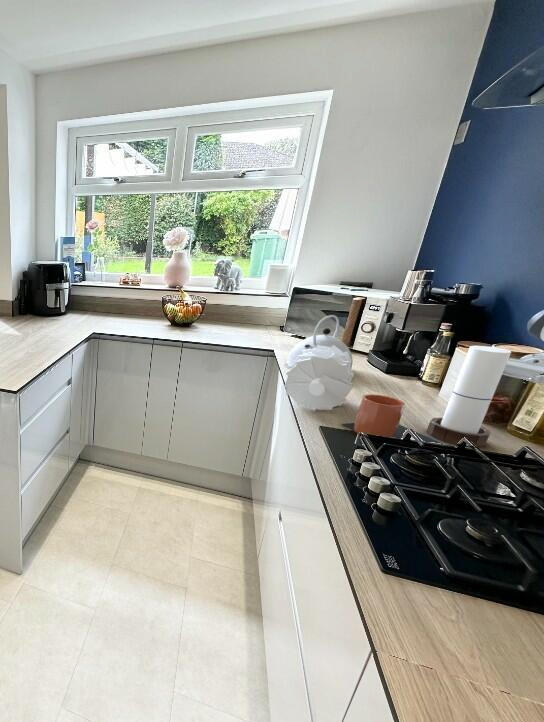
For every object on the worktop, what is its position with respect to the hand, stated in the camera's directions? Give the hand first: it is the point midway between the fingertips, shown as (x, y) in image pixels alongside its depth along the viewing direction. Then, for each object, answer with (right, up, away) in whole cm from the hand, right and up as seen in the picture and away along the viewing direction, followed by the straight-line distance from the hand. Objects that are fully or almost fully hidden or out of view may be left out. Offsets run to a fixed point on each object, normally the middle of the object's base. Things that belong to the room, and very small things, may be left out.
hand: (507, 373), depth 107 cm
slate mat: (-28, -17, +3) cm, 33 cm away
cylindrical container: (-12, -18, +2) cm, 21 cm away
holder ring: (-12, -18, +2) cm, 21 cm away
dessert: (-21, -16, +23) cm, 35 cm away
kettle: (-6, +4, +63) cm, 64 cm away
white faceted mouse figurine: (-33, -9, +28) cm, 44 cm away
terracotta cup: (-32, -17, +5) cm, 36 cm away
